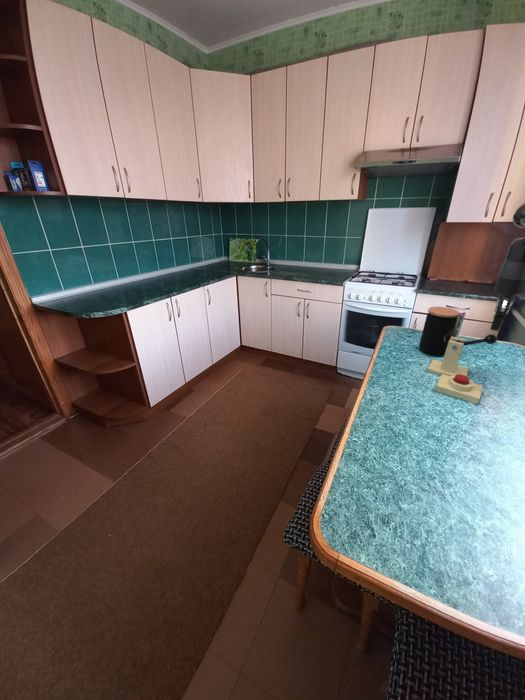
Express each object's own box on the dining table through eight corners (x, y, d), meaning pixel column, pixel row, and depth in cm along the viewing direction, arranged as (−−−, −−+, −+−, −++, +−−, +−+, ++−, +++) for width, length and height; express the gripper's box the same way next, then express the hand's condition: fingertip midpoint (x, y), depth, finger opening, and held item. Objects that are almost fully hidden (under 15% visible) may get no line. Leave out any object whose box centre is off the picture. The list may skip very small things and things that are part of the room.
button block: (480, 391, 96) (484, 381, 94) (477, 404, 90) (481, 393, 88) (440, 379, 103) (443, 369, 101) (434, 390, 97) (437, 380, 95)
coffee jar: (443, 359, 116) (455, 317, 107) (414, 352, 122) (424, 311, 114) (449, 350, 123) (462, 310, 114) (422, 343, 129) (432, 304, 121)
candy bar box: (423, 343, 129) (432, 308, 122) (427, 340, 132) (436, 305, 125) (451, 351, 122) (463, 314, 114) (454, 347, 125) (466, 311, 118)
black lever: (498, 341, 96) (495, 332, 95) (497, 344, 94) (495, 335, 93) (453, 348, 105) (450, 340, 105) (451, 351, 103) (449, 343, 102)
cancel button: (468, 381, 95) (470, 376, 94) (467, 386, 92) (468, 382, 92) (454, 377, 97) (456, 372, 97) (452, 382, 95) (454, 378, 94)
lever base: (468, 371, 107) (479, 340, 102) (464, 382, 101) (476, 349, 95) (432, 362, 114) (440, 332, 108) (426, 371, 108) (435, 340, 102)
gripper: (531, 282, 79) (507, 339, 87) (530, 273, 89) (509, 326, 96) (497, 278, 84) (478, 333, 92) (500, 270, 93) (482, 321, 101)
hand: (494, 329), depth 94 cm, fingers closed
